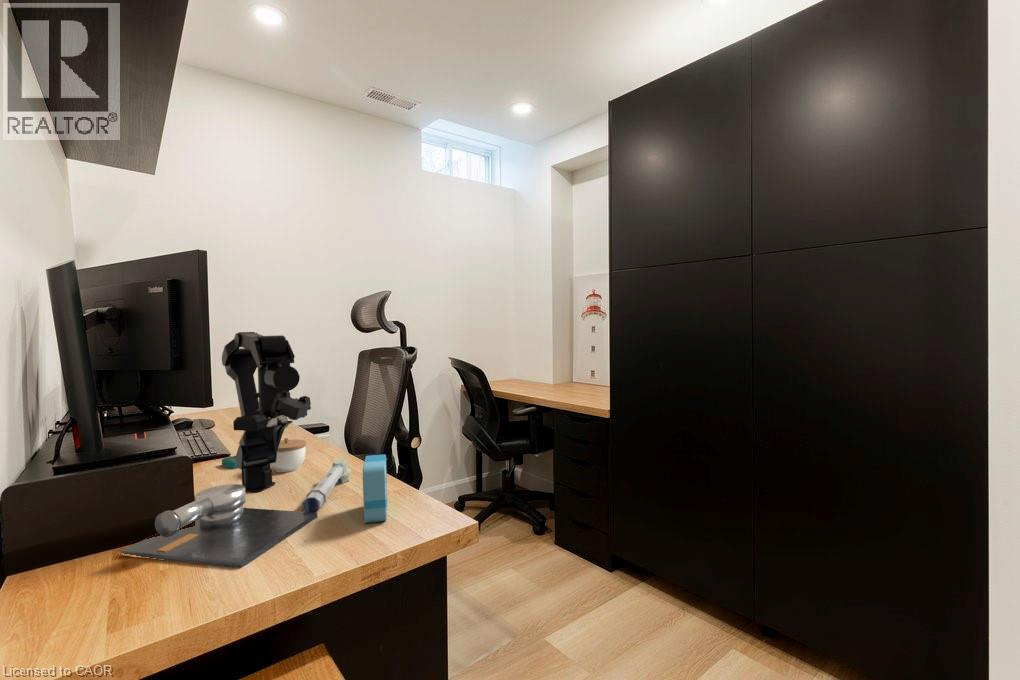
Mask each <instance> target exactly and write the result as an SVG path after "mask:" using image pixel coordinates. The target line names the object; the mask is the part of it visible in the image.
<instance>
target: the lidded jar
mask: <svg viewBox="0 0 1020 680" xmlns="http://www.w3.org/2000/svg"><path fill="white" fill-rule="evenodd" d="M306 451H307V441H306V440H305V439H299V438H298V439H295V438H294V439H291V438H290V439H289V437H284V439H281V441H280V444H279V447H278V450H277V458H276V463H270V465H271V469H274V470H275V472H276V473H289V472H294V471H297V470H298V469H299V467H300V466H301V465H302V464H303V462H304V460H305V458H306Z"/></svg>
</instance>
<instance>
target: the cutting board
mask: <svg viewBox="0 0 1020 680" xmlns="http://www.w3.org/2000/svg"><path fill="white" fill-rule="evenodd" d="M317 518H318V512H314V513H313V512H305V511H296V510H295V511H294V510H280V509H268V508H267V509H266V508H253V507H250V508H249V507H244V504H243V505H241V506H240V507H237V508H235V509H232V510H228V511H224V512H219V513H211V514H208V515H206V516H204V517H202V518H200V519H198V520H196V524H195V526H193V527H189V528H185V529H181V530H179V531H178V532H177V533H176V534H174V535H172V536H170V537H163V536H161V535H160V536H157V537H152V538H149V537H148V538H149V539H147V538H145V539H142V540H141V541H139V542H136V543H135V544H132V545H130V546H127V547H126V548H124V549H121V550H120V551H119V552H120V554H121V553H124V554H130V555H136V556H141V557H149V558H156V559H164V560H163V561H166V560H170V561H169V562H176V561H178V563H187V564H198V565H206V566H207V565H209V566H219V567H228V568H229V567H230V568H237V569H239V568H240V569H242V568H244V567H245V566H246V565H248V564H249V563H251V562H252V561H255V559H257V558H258V557H260V556H261V555H263V554H265V553H266V552H267V551H269V550H270V549H272V548H274V547H275V546H277V545H278V544H279V543H281V542H283V541H285V539H286V540H287V538H289V537H290V536H291V535H293V534H294V533H296V532H298V531H299V530H301V529H302V528H303V527H305V526H307V525H308V524H310V523H312V522H313V521H314V520H317ZM156 559H155V560H156Z"/></svg>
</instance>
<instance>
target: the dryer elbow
mask: <svg viewBox="0 0 1020 680" xmlns="http://www.w3.org/2000/svg"><path fill="white" fill-rule="evenodd" d="M246 498H247V497H246V491H245V486H244V485H242V484H237V483H235V484H234V483H233V484H232V483H229V484H223V485H222V484H221V485H216V486H212V487H209V488H206V489H203V490H201V491H199V492H198V493H196V494H195V500H194V501H192V502H190V503H187V504H185V505H183V506H180V507H178V508H176V509H174V510H165V511H163V512H161V513H159V514H158V515H157V516H156V517H155V519H154V528H155V531H156V532H157V534H158V533H159V534H160V535H161V536H163V537H170V536H172V535H174V534H176V533H177V532H178V531H179V530H180V528H182V527H184V526H186V525H188V524H190V523H192V522H194V521H196V520H198V519H200V518H202V517H204V516H206V515H208V514H211V513H219V512H224V511H228V510H232V509H235V508H237V507H240V506H241V505H243V506H244V505H245V503H246V502H247V501H246V500H247V499H246Z"/></svg>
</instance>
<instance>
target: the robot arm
mask: <svg viewBox="0 0 1020 680" xmlns="http://www.w3.org/2000/svg"><path fill="white" fill-rule="evenodd" d="M221 364H222V366H223V367H224V368H225V372H226V375H228V376H229V378H231V379H232V380H233V381H234V383H235V388H236V394H237V399H238V405H239V410H240V416H237V417H236V418H235V419H233V423H232V424H233V426H232V427H233V431H243V433H242V435H241V438H240V439H239V443H238V444H239V445H238V447H237V450H236V454H235V456H236V457H235V462H236V467H238V468H237V469H239V470H241V485H244V486H245V492H253V493H259V492H262V491H264V490H266V489H268V488H270V487H272V486H274V485H276V481H273V470H272V469H273V468H272V467H271V465H270V463H276V458H277V450H278V447H279V444H280V441H282V438H283V434H284V431H285V429H286V428H287V427H288V426H290V424H292V423H293V421H298V419H301V418H306V416H308V411H310V410H311V409H312V407H311V404H312V403H311V397H309V396H308V395H307V396H306V395H303V396H300V397H299V398H297V397H295V398H293V397H291V392H290V391H291V390H294V389H295V388H297V386H298V385H299V383H300V379H301V377H300V373H299V371H298V369H296V368H295V367H293V366H292V365H291V364H295V353H294V351H293V348H292V347H291V345H290V342H289V340H288V339H287V338H286V336H285V335H262V334H259V333H258V332H255V331H239V332H236V333H235V335H234V338H233V339H232V340H230V341H229V342H228V343H226V344H225V345H224V346H223V351H222V354H221ZM256 371H257V387H258V390H257V387H256V382H255V377H254V375H255V372H256ZM257 391H258V392H257ZM244 461H245V462H244Z"/></svg>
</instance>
